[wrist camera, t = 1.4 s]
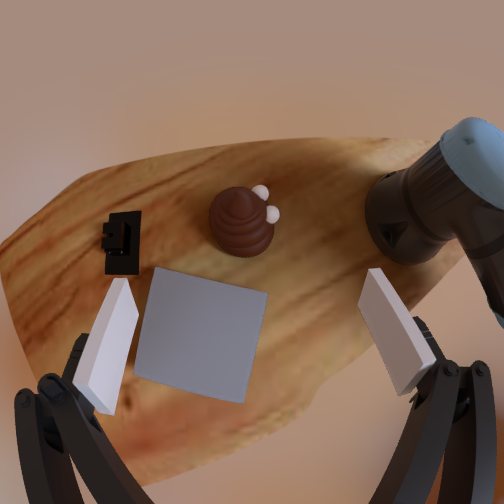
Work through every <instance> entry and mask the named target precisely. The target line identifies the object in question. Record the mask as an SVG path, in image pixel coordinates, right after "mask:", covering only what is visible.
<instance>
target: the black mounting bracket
mask: <svg viewBox="0 0 504 504" xmlns="http://www.w3.org/2000/svg"><path fill="white" fill-rule="evenodd" d="M140 226H141V210H140V211H130V212H120V213H110V215H109V222H105V223H103V232H102V233H103V234H107V237H102V244H101V249H103V250H104V252H105V253H106V261H105V274H106V275H138V274H139V245H140Z"/></svg>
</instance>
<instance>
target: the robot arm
mask: <svg viewBox="0 0 504 504" xmlns="http://www.w3.org/2000/svg"><path fill="white" fill-rule="evenodd" d="M365 215H366V221H367V225H368V228H369V231H370V234H371V236H372V238H373V240H374V241H375V243H376V244H377V246H378V247H379V248H380V250H381V251H382V252H383V253H384V254H385V255H386V256H388V257H389V258H390V259H392V260H394V261H395V262H398V263H400V264H404V265H416V264H420V263H423V262H426V261H428V260H430V259H431V258H433V257H434V256H435V255H436V254H437V253H438V252H439V250H440V249H441V248H442V247H443V246H444V245H445V244H446V243H447V242H448V241H449V240H452V239H454V238H457V239H458V241H459V242H460V244H461V246H462V248H463V249H464V251H465V253H466V255H467V257H468V259H469V261H470V262H471V264H472V266H473V268H474V270H475V272H476V274H477V276H478V278H479V280H480V282H481V285H482V287H483V289H484V291H485V293H486V296H487V301H488V304H489V307H490V309H491V310H492V312H493V313H494V314H495V316H496V318H497V321H498V323H499V324H500V325H501V327H502V328H503V329H504V133H503V132H502V131H501V130H500V129H499V128H497V127H496V126H495V125H493V124H491V123H489V122H487V121H486V120H483V119H480V118H476V117H475V118H474V117H470V118H466V119H463V120H462V121H461V122H459V123H458V124H457V125H455V126H454V127H453V128H452V129H450V130H447V131H446V132H444V133H443V135H442V136H441V139H440V140H439V141H438V142H437V143H436V144H435V145H434V146H433V147H432V148H431V149H429V150H428V151H427V152H426V153H425V154H424V155H423V156H422V157H420V158H419V159H418V160H417V161H416V162H415V163H414V164H413V165H412V166H411V167H409V168H405V169H402V170H398V171H394V172H391V173H388V174H386V175H384V176H383V177H381V178H380V179H379V180H378V181H377V182H376V183H375V184H374V185H373V186H372V188H371V189H370V191H369V193H368V196H367V199H366V205H365ZM357 305H358V307H359V310H360V312H361V314H362V316H363V318H364V320H365V322H366V324H367V326H368V328H369V330H370V333H371V335H372V337H373V339H374V341H375V343H376V345H377V348H378V350H379V352H380V355H381V357H382V359H383V361H384V364H385V366H386V368H387V370H388V373H389V375H390V377H391V380H392V382H393V385H394V387H395V389H396V392H397V395H398V396H401V395H404V394H407V393H410V392H411V391H412V390H413V389H414V388H415V387H417V389H418V392H417V393H416V394H415V395H414V396H413V397H412V398H411V400H410V401H409V403H411V402H412V401H413V400H414V402H413V405H412V408H411V411H410V413H409V416H408V419H407V422H406V425H405V427H404V430H403V433H402V435H401V438H400V440H399V443H398V445H397V447H396V450H395V452H394V454H393V457H392V459H391V461H390V463H389V465H388V467H387V470H386V472H385V474H384V476H383V478H382V480H381V482H380V483H379V486H378V487H377V489H376V491H375V493H374V495H373V497H372V498H371V500H370V502H369V504H425V502H426V500H427V497H428V495H429V493H430V490H431V488H432V485H433V483H434V480H435V478H436V475H437V472H438V469H439V466H440V463H441V460H442V457H443V454H444V463H443V471H442V479H441V485H440V491H439V497H438V502H437V504H492V503H493V496H494V487H495V476H496V456H497V449H496V448H497V447H496V446H497V436H496V417H495V405H494V395H493V387H492V380H491V375H490V370H489V367H488V366H487V364H485V363H484V362H483V361H480V360H477V361H475V362H474V363H473V364H472V365H471V366H470V367H459V366H458V365H457V364H456V363H455V362H453V361H452V360H447V359H446V358H445V356H444V355H443V353H442V351H441V349H440V348H439V346H438V344H437V342H436V341H435V339H434V338H433V336H432V334H431V332H429V329H428V327H427V326H426V324H425V323H424V322H423V321H422V320H421V319H420V318H419V317H418V316H416V317H412V316H411V315H410V313H409V312H408V310H407V308H406V307H405V305H404V304H403V302H402V300H401V299H400V297H399V296H398V294H397V293H396V291H395V290H394V288H393V287H392V285H391V284H390V282H389V281H388V279H387V278H386V276H385V275H384V273H383V272H382V270H381V269H380V268H373V269H368V272H367V276H366V279H365V282H364V286H363V289H362V292H361V295H360V298H359V301H358V304H357ZM138 317H139V313H138V310H137V307H136V305H135V302H134V299H133V296H132V293H131V290H130V287H129V283H128V280H127V278H114V280H113V282H112V284H111V286H110V288H109V291H108V293H107V295H106V297H105V299H104V302H103V304H102V306H101V308H100V311H99V313H98V315H97V318H96V320H95V322H94V325H93V327H92V330H91V332H90V334H86V333H82V334H81V335H80V336H79V338H78V339H77V340H76V341H75V344H74V346H73V349H72V351H71V354H70V358H69V359H68V361H67V364H66V367H65V369H64V372H63V375H62V378H60V377H59V376H58V375H57V374H55V373H49V374H45V375H44V376H43V377H42V378H41V379H40V381H39V382H38V386H37V389H38V393H39V394H34V393H33V392H32V391H31V390H30V389H27V388H24V389H22V390H20V391H19V392H18V393H17V394H16V397H15V401H14V408H15V425H16V436H17V445H18V452H19V458H20V465H21V470H22V475H23V480H24V485H25V489H26V492H27V497H28V500H29V504H84V501H83V498H82V495H81V493H80V490H79V487H78V484H77V481H76V477H75V474H74V471H73V467H72V463H71V459H70V456H71V458H72V460H73V462H74V464H75V465H76V468H77V470H78V472H79V473H80V475H81V477H82V479H83V481H84V482H85V484H86V486H87V487H88V489H89V491H90V492H91V494H92V496H93V497H94V499H95V500H96V502H97V503H98V504H154V503H153V501H152V500H151V499H150V498H149V497H148V495H147V494H146V493H145V492H144V491H143V489H142V488H141V486H140V485H139V484H138V483H137V481H136V480H135V478H134V477H133V476H132V474H131V473H130V472H129V470H128V469H127V467H126V466H125V464H124V463H123V461H122V460H121V458H120V457H119V455H118V454H117V452H116V451H115V449H114V448H113V446H112V444H111V443H110V441H109V439H108V438H107V436H106V434H105V433H104V431H103V429H102V427H101V426H100V424H99V422H98V420H97V418H96V417H95V415H94V414H93V413H94V409H95V408H96V410H97V411H98V412H99V413H103V414H108V415H114V413H115V408H116V403H117V399H118V394H119V389H120V385H121V381H122V376H123V372H124V368H125V364H126V360H127V356H128V352H129V349H130V345H131V341H132V338H133V334H134V330H135V327H136V324H137V320H138ZM444 451H445V453H444ZM69 454H70V456H69Z"/></svg>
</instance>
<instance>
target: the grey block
mask: <svg viewBox="0 0 504 504" xmlns="http://www.w3.org/2000/svg"><path fill="white" fill-rule="evenodd" d="M267 297H268V293H266V292H261V291H256V290H252V289H247V288H243V287H238V286H234V285H230V284H225V283H221V282H217V281H212V280H208V279H204V278H200V277H195V276H191V275H187V274H183V273H179V272H175V271H171V270H167V269H163V268H159V267H155V271H154V275H153V279H152V283H151V287H150V291H149V296H148V300H147V304H146V309H145V313H144V318H143V323H142V328H141V333H140V338H139V343H138V349H137V354H136V360H135V366H134V372H133V374H134V375H136V376H139V377H142V378H145V379H148V380H151V381H154V382H157V383H160V384H164V385H167V386H170V387H174V388H177V389H181V390H184V391H188V392H192V393H196V394H200V395H204V396H208V397H212V398H216V399H221V400H225V401H230V402H235V403H240V404H243V403H244V399H245V395H246V391H247V386H248V382H249V378H250V374H251V369H252V365H253V361H254V356H255V352H256V347H257V343H258V339H259V334H260V330H261V325H262V321H263V316H264V311H265V307H266V302H267Z"/></svg>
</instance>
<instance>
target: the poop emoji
mask: <svg viewBox="0 0 504 504" xmlns="http://www.w3.org/2000/svg"><path fill="white" fill-rule="evenodd" d="M268 196H269V190H268V188H267V187H265V186H263V185H257V186H255V187H253V188H252V190H250V189H247V188H243V187H232V188H228V189H226V190H224V191H222V192H221V193H219V194H218V195H217V196H216V198H215V199H214V201H213V202H212V204H211V207H210V211H209V223H210V227H211V229H212V232H213V234H214V236H215V238H216V240H217V241H218V243H219V244H220V245H221V246H222V247H223V248H224V249H225V250H226V251H227V252H229V253H230V254H232V255H235V256H238V257H253V256H256V255H258V254H260V253H262V252H263V251H264V250H265V249H266V248H267V247H268V246H269V244H270V242H271V240H272V238H273V234H274V223H275V222H277V220H278V219H279V216H280V211H279V209H278V208H277V207H275V206H269V205H268V203H267V202H266V200H267V198H268Z"/></svg>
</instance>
